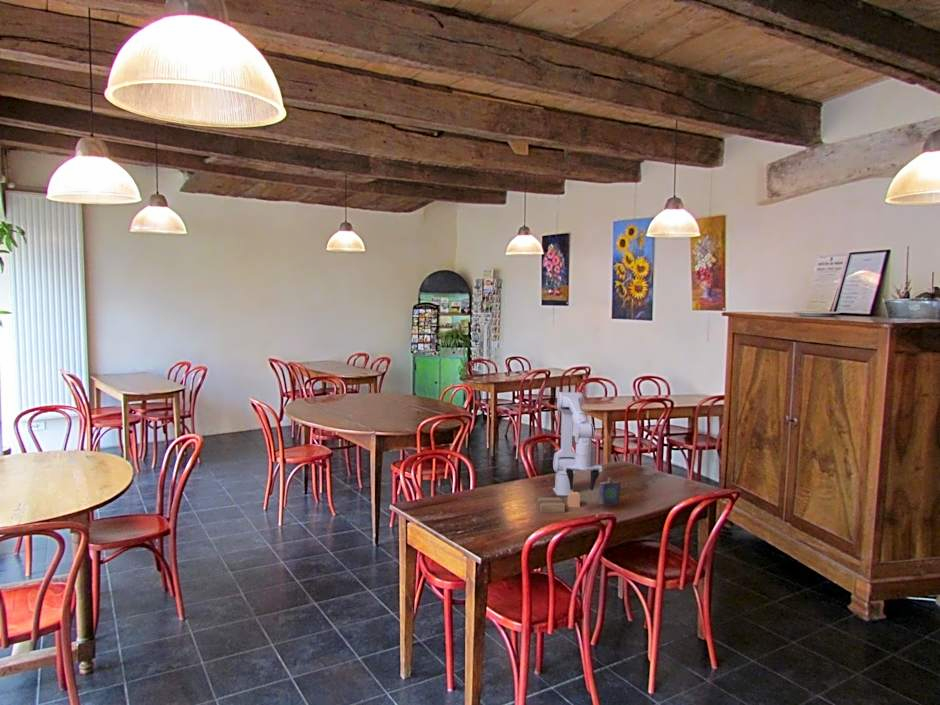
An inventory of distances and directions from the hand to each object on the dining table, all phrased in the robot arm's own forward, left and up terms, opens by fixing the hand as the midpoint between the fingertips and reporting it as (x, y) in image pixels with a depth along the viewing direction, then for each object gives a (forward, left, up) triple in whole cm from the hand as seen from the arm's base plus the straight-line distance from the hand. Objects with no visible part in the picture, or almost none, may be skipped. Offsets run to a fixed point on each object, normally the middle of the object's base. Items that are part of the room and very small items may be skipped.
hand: (581, 489), depth 246 cm
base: (-7, -10, -10) cm, 16 cm away
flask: (-13, +15, -10) cm, 22 cm away
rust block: (-11, 0, -10) cm, 15 cm away
